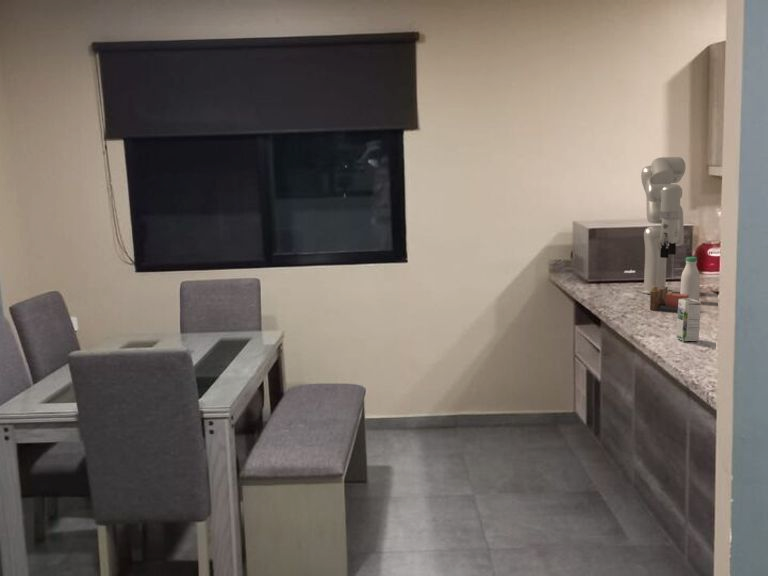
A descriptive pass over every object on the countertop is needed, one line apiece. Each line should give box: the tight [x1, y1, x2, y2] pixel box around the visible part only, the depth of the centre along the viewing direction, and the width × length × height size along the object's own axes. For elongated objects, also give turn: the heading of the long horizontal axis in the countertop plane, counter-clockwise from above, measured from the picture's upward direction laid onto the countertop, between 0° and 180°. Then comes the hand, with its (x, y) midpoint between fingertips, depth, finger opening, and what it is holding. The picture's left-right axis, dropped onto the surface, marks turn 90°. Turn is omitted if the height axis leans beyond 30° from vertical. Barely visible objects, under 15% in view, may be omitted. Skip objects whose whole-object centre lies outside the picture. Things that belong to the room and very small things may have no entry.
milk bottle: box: [679, 256, 701, 301], centre depth 331 cm, size 8×8×20 cm
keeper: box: [657, 303, 678, 313], centre depth 317 cm, size 9×12×2 cm
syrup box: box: [675, 299, 702, 342], centre depth 264 cm, size 6×6×14 cm
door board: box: [649, 286, 669, 312], centre depth 321 cm, size 15×2×10 cm, turn 141°
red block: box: [665, 291, 689, 307], centre depth 317 cm, size 4×8×7 cm, turn 51°
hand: (667, 256), depth 320 cm, fingers open, 9 cm apart
